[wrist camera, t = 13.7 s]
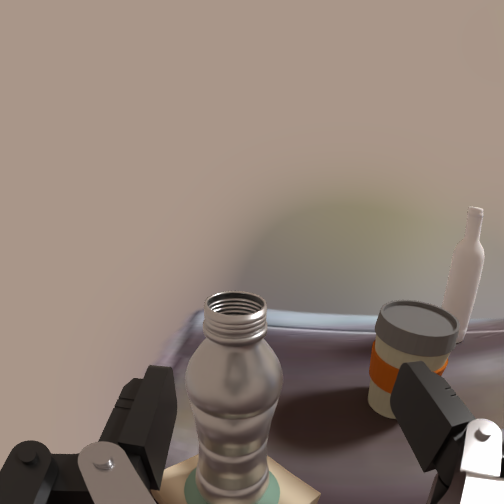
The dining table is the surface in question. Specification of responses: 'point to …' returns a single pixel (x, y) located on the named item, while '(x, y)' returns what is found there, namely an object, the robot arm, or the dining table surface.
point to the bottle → (465, 272)
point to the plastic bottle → (233, 398)
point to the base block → (274, 500)
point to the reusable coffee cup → (408, 345)
